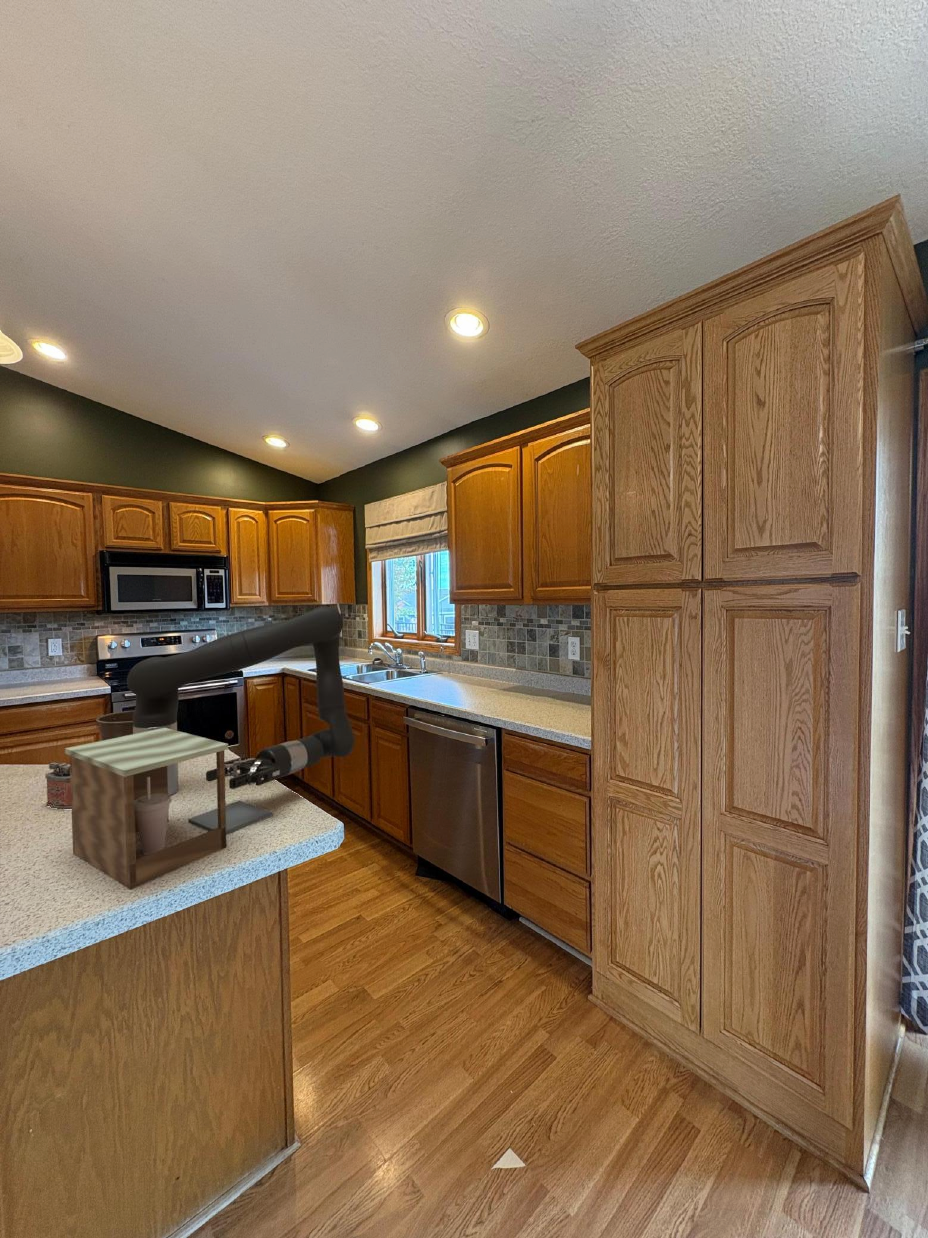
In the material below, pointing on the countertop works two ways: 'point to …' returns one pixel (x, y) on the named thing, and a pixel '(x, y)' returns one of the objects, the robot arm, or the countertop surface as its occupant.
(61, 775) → the lighter
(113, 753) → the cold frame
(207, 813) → the slate mat
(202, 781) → the countertop surface
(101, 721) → the plant pot
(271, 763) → the robot arm
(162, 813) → the smoothie
